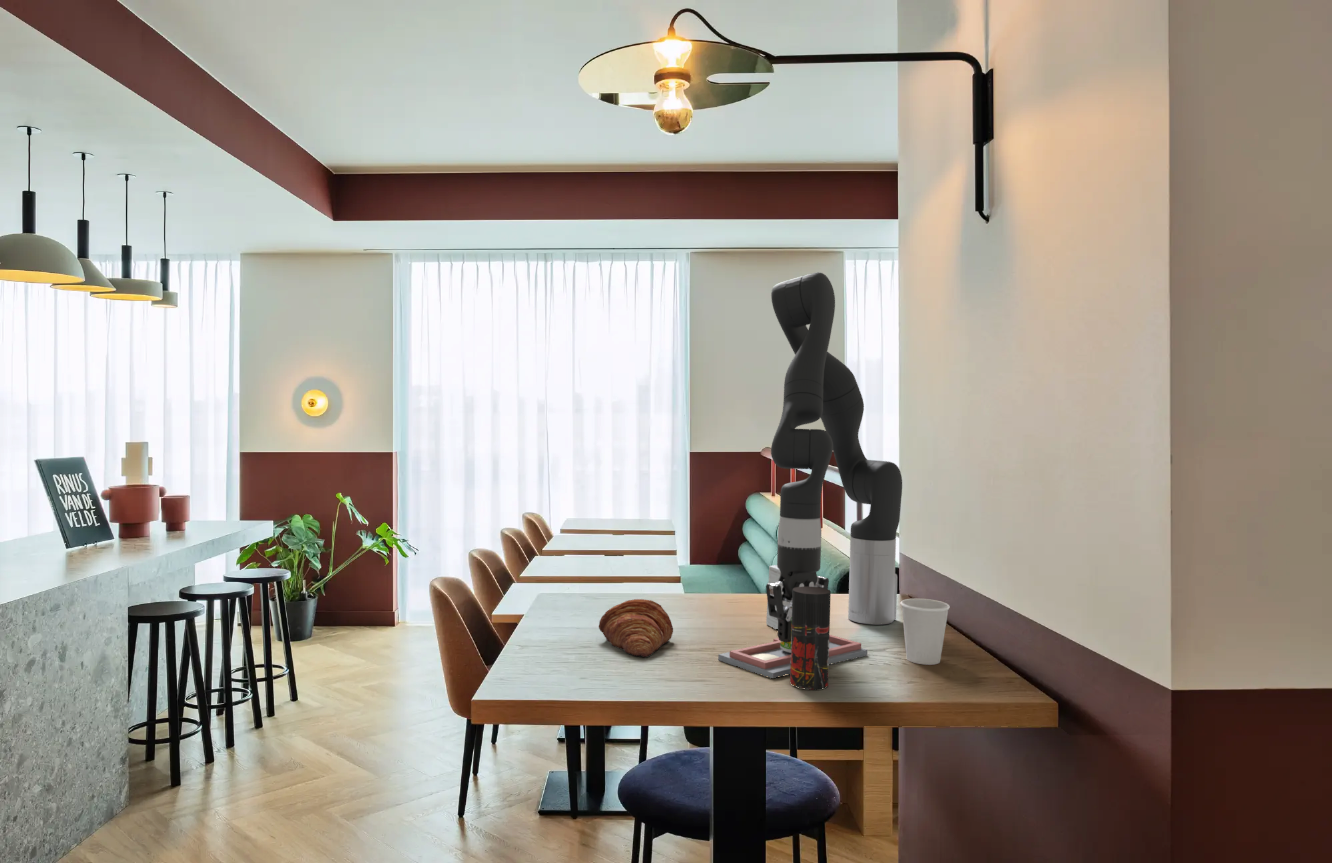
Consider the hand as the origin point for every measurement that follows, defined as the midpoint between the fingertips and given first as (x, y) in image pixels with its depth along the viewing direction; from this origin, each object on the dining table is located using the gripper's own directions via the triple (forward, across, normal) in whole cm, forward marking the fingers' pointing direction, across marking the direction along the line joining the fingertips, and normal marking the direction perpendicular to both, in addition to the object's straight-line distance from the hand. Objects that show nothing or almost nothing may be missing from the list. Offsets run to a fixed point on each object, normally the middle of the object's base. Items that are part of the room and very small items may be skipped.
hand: (796, 638), depth 156 cm
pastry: (+4, -17, +24) cm, 29 cm away
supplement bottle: (+2, 0, 0) cm, 2 cm away
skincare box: (+4, +14, +16) cm, 21 cm away
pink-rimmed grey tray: (+3, 0, 0) cm, 3 cm away
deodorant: (+4, -10, -12) cm, 15 cm away
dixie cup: (+4, +18, -14) cm, 23 cm away
